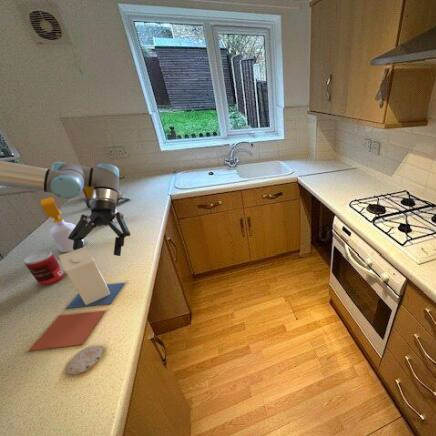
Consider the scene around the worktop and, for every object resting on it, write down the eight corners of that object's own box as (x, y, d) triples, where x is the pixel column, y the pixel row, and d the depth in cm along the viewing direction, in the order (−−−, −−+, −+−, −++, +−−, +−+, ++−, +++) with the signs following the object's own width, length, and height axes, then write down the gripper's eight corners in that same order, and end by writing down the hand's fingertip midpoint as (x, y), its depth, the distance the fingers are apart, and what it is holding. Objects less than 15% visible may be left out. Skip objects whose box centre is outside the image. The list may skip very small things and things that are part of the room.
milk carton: (83, 294, 85) (57, 251, 76) (106, 284, 90) (84, 242, 81) (86, 305, 81) (59, 261, 72) (110, 294, 85) (88, 250, 76)
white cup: (108, 219, 137) (101, 204, 132) (121, 217, 139) (115, 201, 135) (106, 224, 131) (98, 208, 127) (120, 222, 134) (113, 205, 129)
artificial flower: (91, 207, 156) (88, 191, 154) (131, 204, 164) (129, 190, 162) (85, 209, 148) (82, 192, 146) (128, 206, 156) (126, 191, 154)
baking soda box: (99, 198, 165) (89, 176, 158) (87, 200, 162) (77, 178, 155) (100, 194, 172) (90, 172, 165) (89, 196, 169) (78, 174, 162)
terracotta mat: (28, 351, 67) (28, 350, 67) (59, 316, 78) (59, 315, 77) (82, 345, 68) (81, 344, 68) (105, 311, 79) (105, 310, 79)
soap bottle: (84, 239, 119) (60, 193, 107) (85, 247, 112) (60, 199, 101) (60, 246, 114) (33, 199, 102) (60, 255, 107) (30, 205, 96)
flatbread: (78, 380, 60) (77, 378, 59) (60, 369, 62) (58, 367, 62) (110, 351, 66) (109, 348, 66) (93, 342, 69) (91, 340, 69)
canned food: (60, 270, 98) (46, 248, 93) (68, 276, 95) (54, 254, 89) (35, 281, 92) (19, 258, 87) (43, 288, 89) (27, 265, 84)
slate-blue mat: (66, 308, 80) (65, 308, 80) (85, 287, 89) (84, 286, 89) (110, 304, 82) (110, 303, 81) (124, 283, 90) (124, 282, 90)
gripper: (143, 203, 98) (138, 255, 91) (77, 208, 95) (68, 261, 89) (132, 196, 90) (127, 252, 84) (61, 201, 88) (50, 258, 82)
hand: (97, 257), depth 87 cm, fingers open, 13 cm apart
